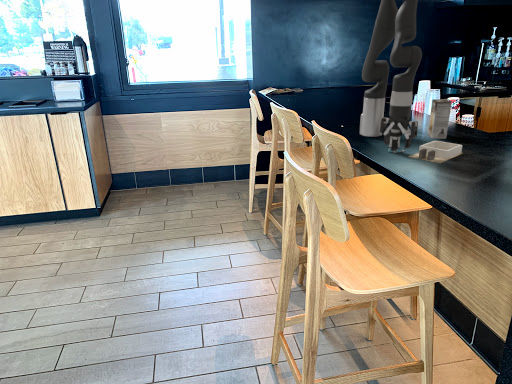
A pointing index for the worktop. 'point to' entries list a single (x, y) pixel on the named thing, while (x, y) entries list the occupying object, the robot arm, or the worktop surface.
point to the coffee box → (439, 118)
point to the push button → (394, 141)
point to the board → (430, 156)
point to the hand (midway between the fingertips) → (396, 146)
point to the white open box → (442, 149)
